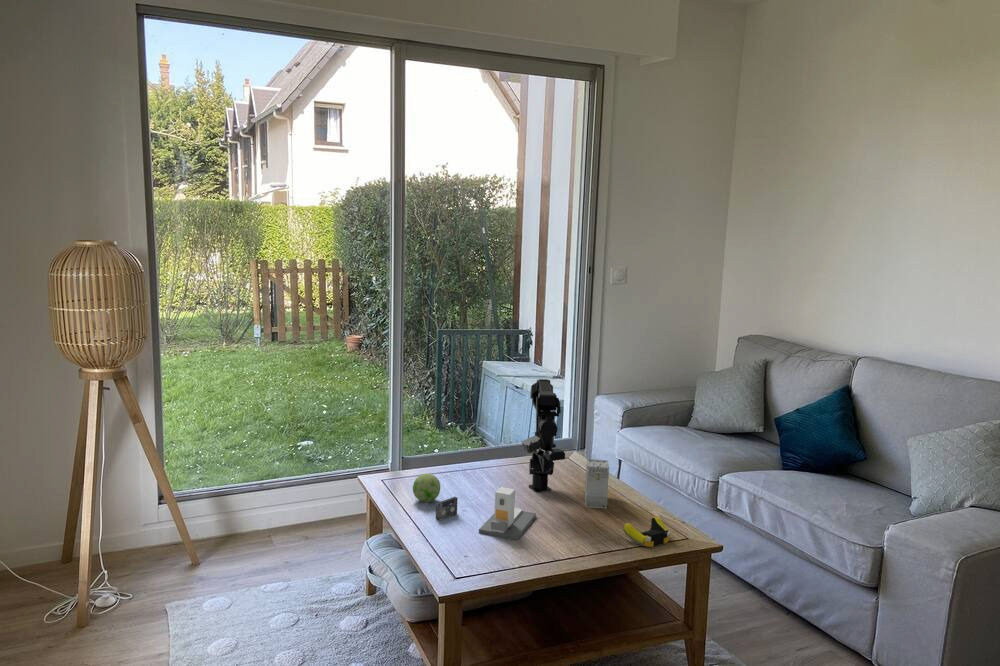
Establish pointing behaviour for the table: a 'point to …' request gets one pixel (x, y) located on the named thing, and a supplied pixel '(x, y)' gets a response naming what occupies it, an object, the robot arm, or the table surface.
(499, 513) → the block
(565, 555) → the table surface
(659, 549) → the table surface
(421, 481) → the decorative ball
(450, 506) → the mini dv tape
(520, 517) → the din rail plate
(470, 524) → the table surface
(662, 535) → the gaming controller
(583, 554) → the table surface
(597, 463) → the circuit breaker
